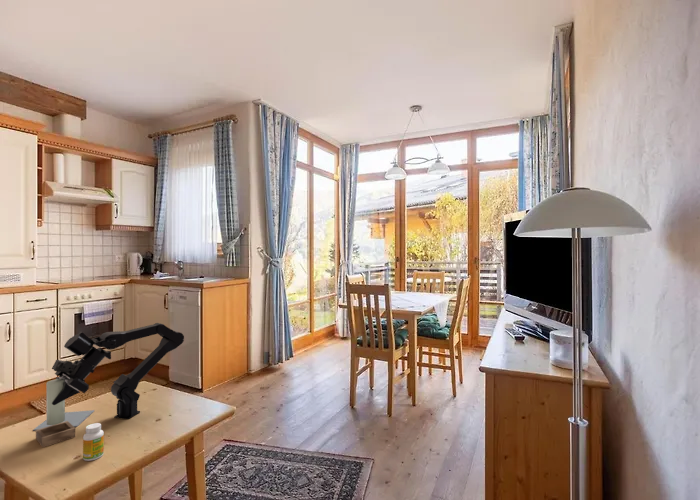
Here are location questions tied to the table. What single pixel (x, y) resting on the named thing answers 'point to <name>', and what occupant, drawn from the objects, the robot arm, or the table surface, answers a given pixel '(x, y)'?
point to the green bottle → (52, 390)
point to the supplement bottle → (93, 442)
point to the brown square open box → (55, 433)
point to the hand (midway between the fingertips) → (50, 402)
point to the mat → (70, 418)
